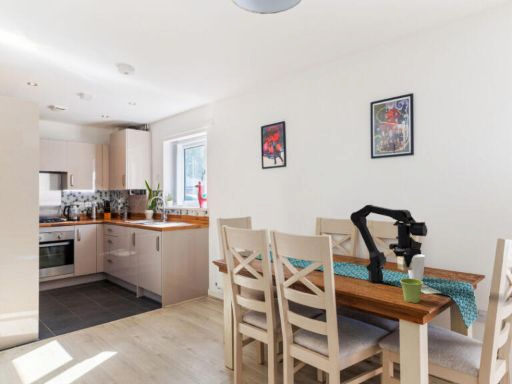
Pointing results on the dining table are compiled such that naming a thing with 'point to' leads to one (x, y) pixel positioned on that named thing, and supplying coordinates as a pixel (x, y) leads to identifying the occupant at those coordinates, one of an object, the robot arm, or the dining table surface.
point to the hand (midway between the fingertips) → (404, 266)
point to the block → (403, 264)
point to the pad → (429, 290)
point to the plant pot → (411, 289)
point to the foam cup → (417, 267)
